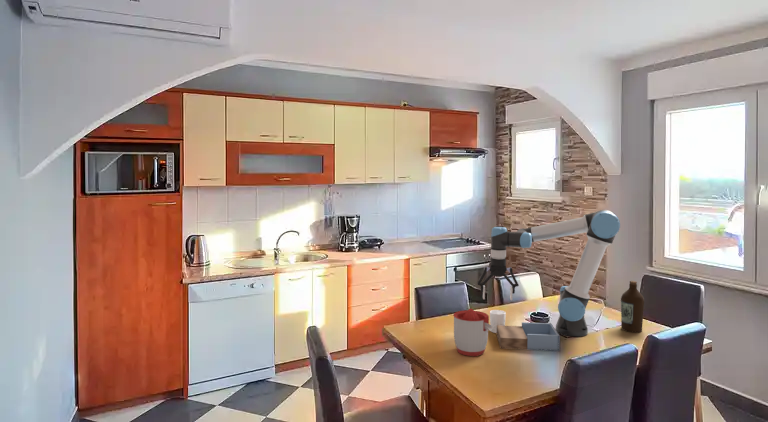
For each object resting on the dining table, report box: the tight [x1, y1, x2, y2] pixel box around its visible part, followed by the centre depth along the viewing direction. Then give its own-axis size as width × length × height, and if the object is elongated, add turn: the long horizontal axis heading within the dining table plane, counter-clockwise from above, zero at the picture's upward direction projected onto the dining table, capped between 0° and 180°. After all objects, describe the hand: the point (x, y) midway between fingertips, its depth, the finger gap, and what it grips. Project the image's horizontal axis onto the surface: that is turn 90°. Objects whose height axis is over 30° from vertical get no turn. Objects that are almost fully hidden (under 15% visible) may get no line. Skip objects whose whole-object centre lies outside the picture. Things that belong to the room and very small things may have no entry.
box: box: [521, 321, 561, 352], centre depth 223 cm, size 14×18×7 cm
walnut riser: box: [496, 325, 528, 351], centre depth 225 cm, size 12×18×5 cm, turn 172°
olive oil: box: [620, 280, 645, 333], centre depth 241 cm, size 11×11×25 cm
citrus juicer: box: [453, 308, 492, 357], centre depth 212 cm, size 16×17×20 cm
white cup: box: [489, 309, 507, 334], centre depth 240 cm, size 8×8×10 cm
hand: (497, 299), depth 239 cm, fingers open, 13 cm apart
